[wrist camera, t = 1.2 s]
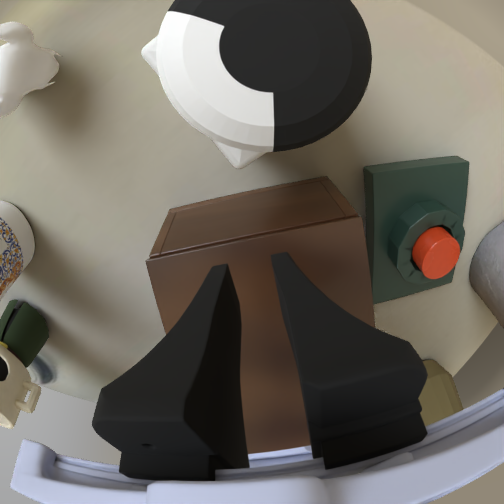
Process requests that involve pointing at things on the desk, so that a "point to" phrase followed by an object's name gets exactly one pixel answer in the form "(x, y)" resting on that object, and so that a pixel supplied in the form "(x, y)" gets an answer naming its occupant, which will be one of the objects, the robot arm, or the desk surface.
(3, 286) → the bath foam
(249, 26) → the medicine bottle
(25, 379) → the character mug
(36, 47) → the elephant figurine
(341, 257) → the lid
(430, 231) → the button
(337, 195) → the box
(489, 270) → the pillar candle
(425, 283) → the button block
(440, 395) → the squeeze bottle
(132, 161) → the desk surface
